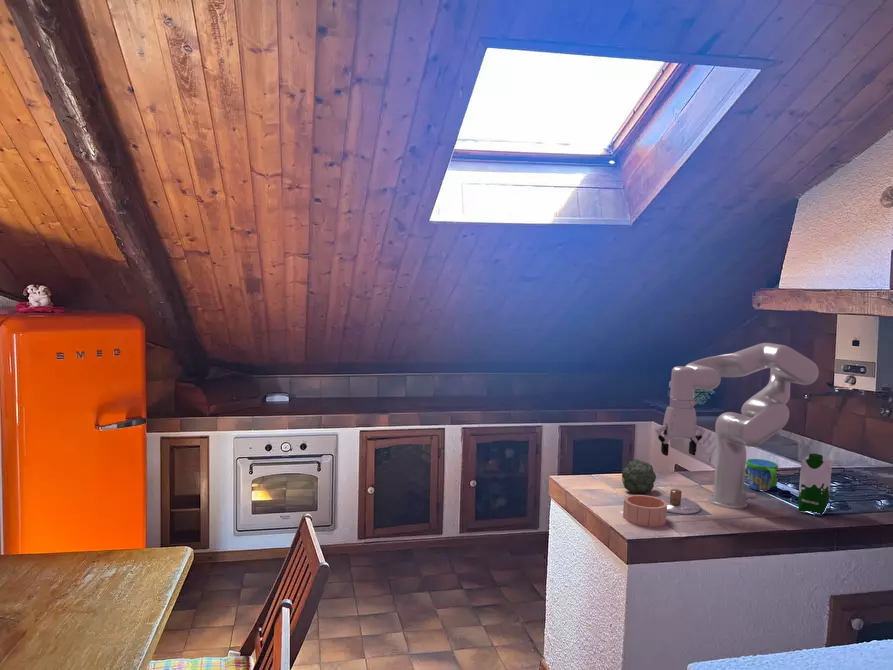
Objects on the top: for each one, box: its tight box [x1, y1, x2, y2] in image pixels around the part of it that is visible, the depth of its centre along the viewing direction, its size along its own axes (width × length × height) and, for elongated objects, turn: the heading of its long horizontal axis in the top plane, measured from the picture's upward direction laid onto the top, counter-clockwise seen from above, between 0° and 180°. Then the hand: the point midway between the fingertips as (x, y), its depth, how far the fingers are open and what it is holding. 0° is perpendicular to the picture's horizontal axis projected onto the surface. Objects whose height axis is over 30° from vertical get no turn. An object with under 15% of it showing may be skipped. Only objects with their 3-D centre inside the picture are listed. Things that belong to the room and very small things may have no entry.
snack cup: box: [745, 458, 779, 491], centre depth 259 cm, size 16×10×10 cm
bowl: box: [622, 494, 668, 527], centre depth 222 cm, size 13×13×6 cm
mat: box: [667, 497, 712, 517], centre depth 235 cm, size 17×17×1 cm
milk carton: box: [797, 453, 833, 514], centre depth 235 cm, size 9×9×20 cm
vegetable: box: [621, 458, 657, 495], centre depth 252 cm, size 12×13×15 cm
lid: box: [655, 488, 701, 514], centre depth 235 cm, size 16×16×5 cm
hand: (678, 454), depth 234 cm, fingers open, 9 cm apart
